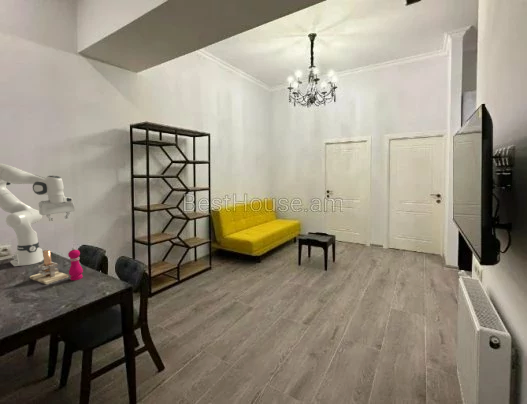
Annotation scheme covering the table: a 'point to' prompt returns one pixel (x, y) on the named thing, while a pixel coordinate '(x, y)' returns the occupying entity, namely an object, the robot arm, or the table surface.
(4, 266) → the table surface
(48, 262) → the brown rounded cylinder
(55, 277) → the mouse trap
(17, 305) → the table surface
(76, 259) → the pepper mill
